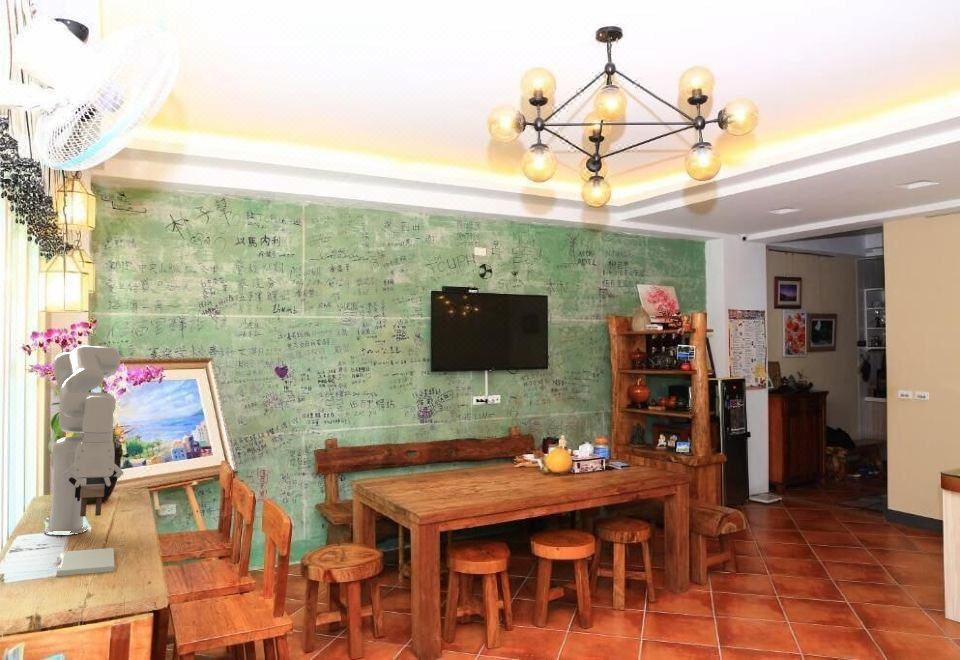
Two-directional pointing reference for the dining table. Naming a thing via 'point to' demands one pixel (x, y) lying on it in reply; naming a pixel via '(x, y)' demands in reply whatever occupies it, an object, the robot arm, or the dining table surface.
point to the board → (87, 562)
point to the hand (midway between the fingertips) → (91, 499)
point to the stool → (91, 491)
